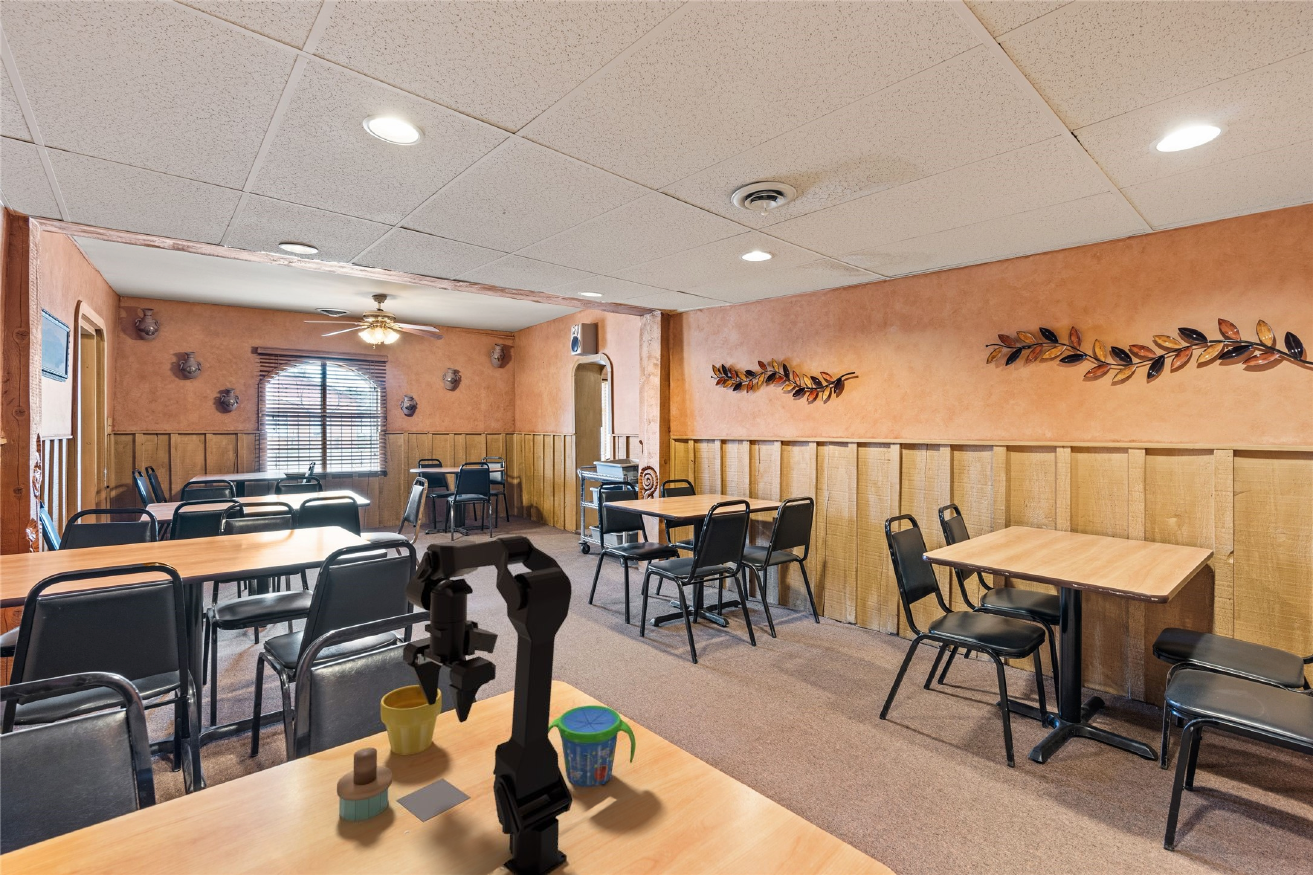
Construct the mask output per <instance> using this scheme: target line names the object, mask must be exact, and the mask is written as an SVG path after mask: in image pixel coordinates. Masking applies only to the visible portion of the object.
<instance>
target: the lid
mask: <svg viewBox="0 0 1313 875" xmlns="http://www.w3.org/2000/svg"><path fill="white" fill-rule="evenodd" d="M392 783H393V772H392V770H391V769H390V768H389V767H387V766H384V765H378V750H377V749H376V748H375V747H365V748H361V749H359V750H357V751H355V752H354V754H353V770H351V771H349V772H347V773H345V774H344V775H343V776H342V777H340V778H339V779H338V781H337V783H336V794H337V797H338V798H339V799H340V798H342V799H344V800H349V801H359V800H365V799H369V798H372V797H375V796H377V795H379V794H381V793H383V792H384V791H386V790H387V789H388V790H389V788H390V787H391V785H392Z"/></svg>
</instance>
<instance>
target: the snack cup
mask: <svg viewBox="0 0 1313 875" xmlns="http://www.w3.org/2000/svg"><path fill="white" fill-rule="evenodd" d="M553 728H556V729H557V731H558V733H559V735H560V740H561V745H562V746H561V747H562V753H563V759H564V761H563V762H564V767H565V774H566V777H567V779H568V781H569V782H570V783H571V784H573V785H574V786H578V787H579V786H580V787H587V788H588V787H596V786H599V785H600V786H603V785H605V784H606V783H607V782H608V781H609V780H611V778H612V774H613V768H614V761H615V754H616V747H617V740H618V734H619V732H623V733H625V734H627V735H628V737H629V741H630V757H629V758H630V759H629V763H630V764H632V763H633V759H634V757H635V753H636V738H635V737H636V736H635V734H634V731H633V730H632V728H631V726H630V725H629V724H628V723H627V722H626V721H625V720H623V719H621V715H620V714H619V713H618V712H617V711H616V710H615V709H613V708H610V707H608V706H604V705H603V706H602V705H582V706H576V707H573V708H571V709H569V710H567V711H565V712H563V713H562V714H561V715H560V716H559V717H557V718H555V719H553V721H552V722H551V723H549V730H548V734H550V732H551V730H552V729H553Z"/></svg>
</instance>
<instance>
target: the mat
mask: <svg viewBox="0 0 1313 875" xmlns="http://www.w3.org/2000/svg"><path fill="white" fill-rule="evenodd" d="M469 799H471V796H469V795H468V794H466V793H465V792H464V791H462V790H460V789H459V788H458V787H456V786H455V785H454V784H452V783H451V782H449V781H447V780H446V779H445V778H440V779H438V780H437V781H434V782H432V783H429V784H428V785H426V786H423V787H421V788H419V789H417V790H414V791H412V792H411V793H408V794H406V795H404V796H402V797H400V798H397V799H396V801H395V802H398V803H399V804H400V805H401V806H403V808H405V809H406V810H408V812H410V813H411V814H412V815H413V816H415V817H416V818H417V819H419V820H420V821H421V822H422V823H424V822H426V821H428V820H430V819H432V818H434V817H436V816H438V815H440V814H442V813H444V812H446V811H448V810H449V809H451V808H454V807H456V806H458V805H460V804H461V803H463V802H465V801H467V800H469Z"/></svg>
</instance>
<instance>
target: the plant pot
mask: <svg viewBox="0 0 1313 875" xmlns="http://www.w3.org/2000/svg"><path fill="white" fill-rule="evenodd" d="M442 697H443V696H442V691H441V690H440V689H439V688H438V691H437V698H436V703H435V704H433V705H429V704H428V702H427V700H426V698H425V696H424V694H423V692H422V690H421V688H420V686H419V684H416V685H415V684H414V685H407V686H402V687H399V688H396V689H394V690H392V691H390V692H388V693H387V694H385V695H384V696H383V697H382V698H381V700H380V719H381V722H382V723H383V724H384V725H385V728H386V732H387V737H388V741H389V745H390V750H391V752H393V754H396V755H402V756H405V755H406V756H407V755H414V754H419V753H421V752H424V751H426V750H427V749H428V748H429V747H430V746H431V745H432V742H433V739H434V738H433V737H434V732H435V727H436V723H437V718H438V716H439V715H440V713H442V704H443V703H442V700H443V699H442Z"/></svg>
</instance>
